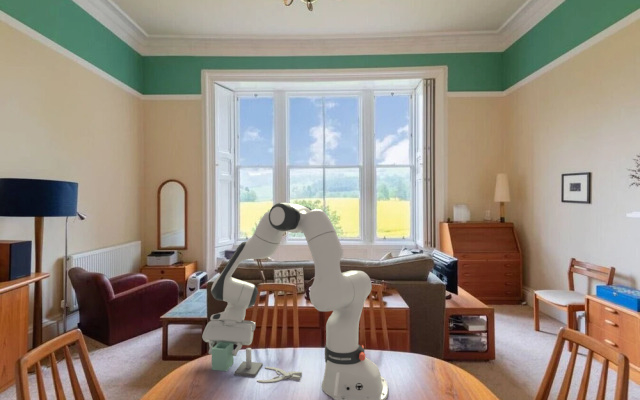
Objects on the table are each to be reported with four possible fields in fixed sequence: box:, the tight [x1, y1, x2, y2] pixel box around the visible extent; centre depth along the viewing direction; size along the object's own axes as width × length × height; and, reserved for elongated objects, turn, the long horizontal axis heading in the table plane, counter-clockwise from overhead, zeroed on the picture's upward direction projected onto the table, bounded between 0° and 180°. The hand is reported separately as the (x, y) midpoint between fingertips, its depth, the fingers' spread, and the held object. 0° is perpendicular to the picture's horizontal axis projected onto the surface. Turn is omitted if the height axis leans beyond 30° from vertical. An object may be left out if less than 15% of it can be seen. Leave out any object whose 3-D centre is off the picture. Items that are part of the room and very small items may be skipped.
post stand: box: [234, 347, 264, 378], centre depth 124 cm, size 8×8×8 cm
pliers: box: [256, 366, 303, 384], centre depth 120 cm, size 10×2×15 cm
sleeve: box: [211, 342, 234, 372], centre depth 127 cm, size 6×6×8 cm
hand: (222, 354), depth 127 cm, fingers open, 8 cm apart
